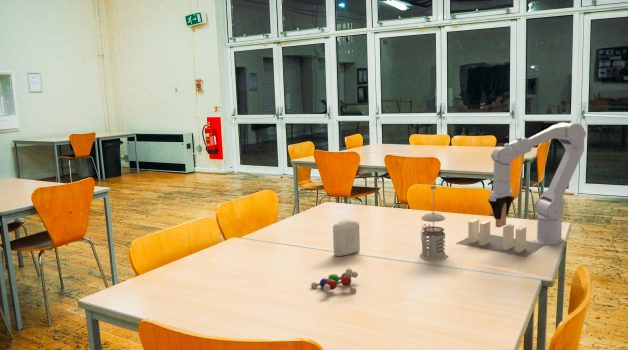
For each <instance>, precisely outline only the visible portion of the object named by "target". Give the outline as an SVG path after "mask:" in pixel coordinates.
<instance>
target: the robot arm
mask: <svg viewBox="0 0 628 350" xmlns="http://www.w3.org/2000/svg"><path fill="white" fill-rule="evenodd" d="M586 136H587V132H586V130H585V128H584V127H583V125H581V124H580V123H576V122H575V123H570V122H564V121H561V122H558V123H556V124H553V125H551V126H549V127H548V128H546V129H544V130H541V131H540V132H538V133H536V134H534V135H532V136H530V137H528V138H527V137H521V136H518V137H516V139H515V140H514V141H511V142H509V143H507V142H506V143H504V146H497V147H495V148H494V149H493V150H492V153H491V154H490V158H491V160H492V161H493V183H492V184H493V185H492V191H490V195H489V199H488V203H489V205H490V207H491V210H492V213H493V218H494V220H496V219H501V216H502V209H503V206H504V204H505V203H506V217H508V216H509V212H510V208H511V206H512V203H513V201H514V200H515V196H512V195H514V189H512V188H511V176H512V175H511V171H512V164H511V163H512V162H513V161H514V160H515V159H517V158H519V157H521V156H524V155H526V154H528V153H530V152H531V151H532V148H533V147H536V146H538V145H540V144H543V143H546V142H548V141H550V140H554V139H557V140H558V141H559V142H560V143H561V144H562V146H563V147H564V150H565V151H564V154H563V156H562V157H561V161H560V162H559V164H558V167H557V168H556V171H555V174H554V176H553V178H552V180H551V182H550V185H549V186H548V189H547V190H546V191H544V192H543V193H541V196H540V197H539V198H538V199H537V200H536V201H535V202H534V208H533V209H534V210H535V212H536V213H537V226H536V238H535V239H533V240H532V242H536V243H542V244H547V245H552V246H555V245H557V244H559V243H561V241H564V240H565V238H562V229H563V228H562V226H563V224H562V220H561V217H563V214H564V206H565V204H566V201H565V198H564V195H565V193H566V191H567V188H568V186H569V184H570V182H571V180H572V177H573V176H574V173H575V171H576V169H577V167H578V164H579V162H580V160H581V159H582V156H583V154H584V152H585V139H586Z"/></svg>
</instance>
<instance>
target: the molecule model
mask: <svg viewBox="0 0 628 350" xmlns="http://www.w3.org/2000/svg"><path fill="white" fill-rule="evenodd" d="M358 276H359V274H358V272H357V271H355V270H352V269H351V268H350V267H349V268H346V269H345V271H344V272H343V273H342V274H341V275H340V276H339V275H337V274H335V273H332V274H331V273H330V274H329V275H328V276H327V277H328V278H325V277H323V278H322V279H320V282H319V283H318V282H316V281H314V282H311V284H310V287H311V288H312V287H317V288H318V287H319V286H320V287H321V288H322V289H323V290H324V292H329V291H333V290H335V289H336V287H337V285H340V284H342V286H344V287H349V292H350V293H351V292H355V293H356V292H357V288H356V287H355V286H352V285H351V284H352V278H353V279H355V278H357V277H358Z"/></svg>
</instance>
